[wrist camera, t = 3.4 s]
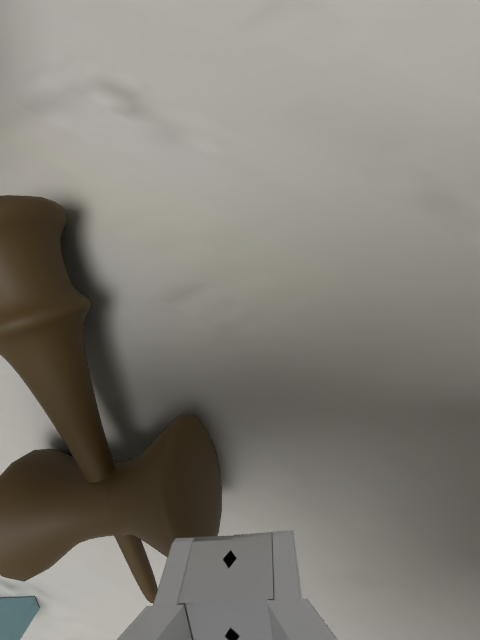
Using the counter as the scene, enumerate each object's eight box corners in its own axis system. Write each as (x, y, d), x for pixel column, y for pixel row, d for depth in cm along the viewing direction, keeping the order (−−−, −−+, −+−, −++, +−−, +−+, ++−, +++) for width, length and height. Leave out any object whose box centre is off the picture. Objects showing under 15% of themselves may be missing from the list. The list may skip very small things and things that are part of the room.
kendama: (130, 180, 15) (251, 538, 19) (-38, 241, 17) (104, 556, 21) (34, 143, 9) (236, 671, 13) (-206, 243, 11) (34, 679, 15)
